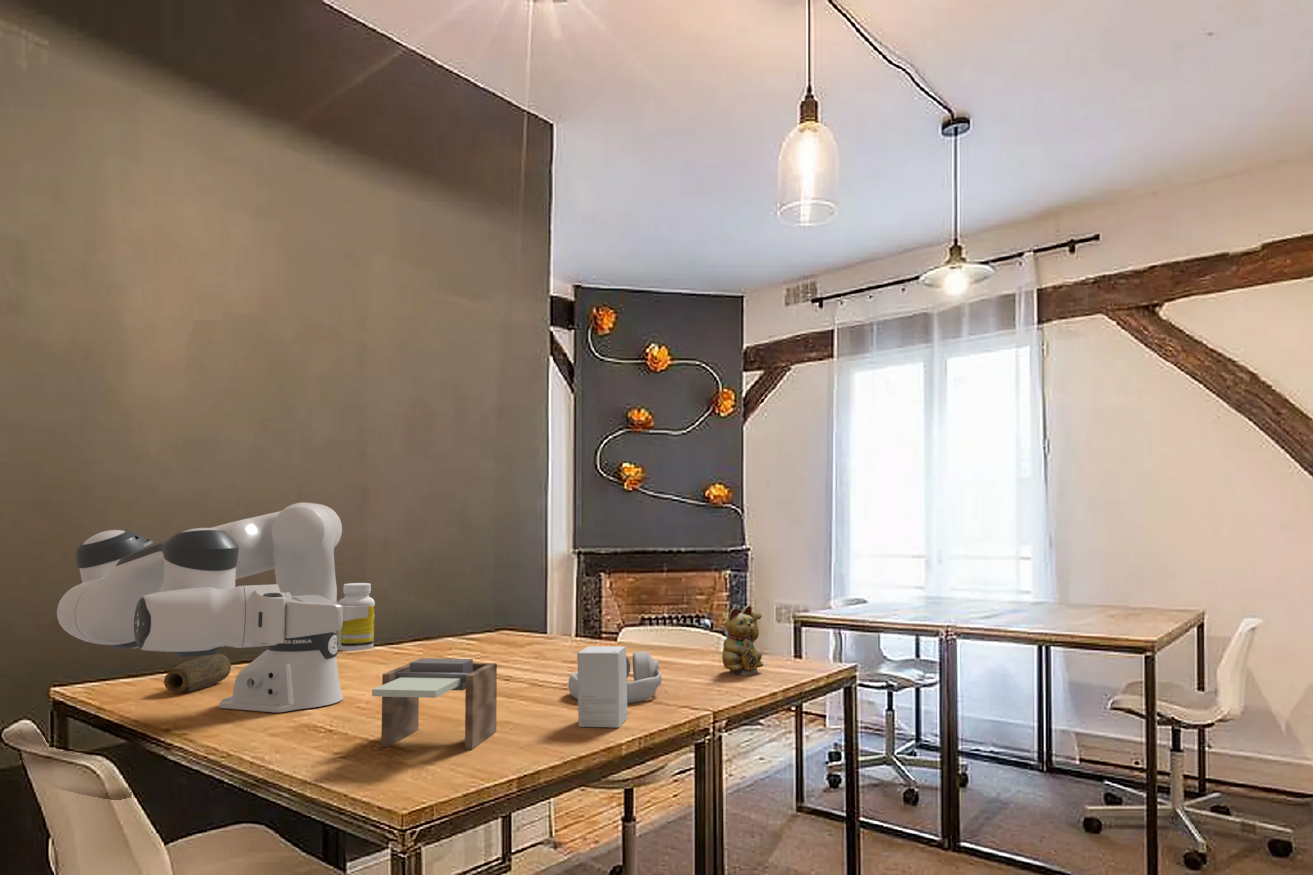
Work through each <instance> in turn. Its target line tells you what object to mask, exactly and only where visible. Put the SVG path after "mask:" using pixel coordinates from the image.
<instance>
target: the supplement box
mask: <svg viewBox="0 0 1313 875" xmlns="http://www.w3.org/2000/svg"><path fill="white" fill-rule="evenodd" d="M626 655H627V646H597V645H595V646H592V645H591V646H589V645H588V646H586V647H584V648H583V649H581V650H580V651H578V652H577V653H576V658H577V671H578V699H577V709H578V710H577V711H578V727H579V728H584V727H585V728H615V729H617V728H620V727H621V726H622V725H623V724H624V723H625V721H627V719H628V704H627V681H628V678H627V672H626Z"/></svg>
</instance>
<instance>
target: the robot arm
mask: <svg viewBox="0 0 1313 875" xmlns="http://www.w3.org/2000/svg"><path fill="white" fill-rule="evenodd" d="M342 535H343V525H342V521H341V519H340V516H339V515H338V513H336V512H335V510H334V509H332V508H331V507H329V506H327V505H325V504H321V503H315V502H304V501H303V502H297V503H293V504H290V505H288V506H286V507H285V508H284V509H282V510H280V511H276V512H271V513H266V514H262V515H257V516H253V517H248V518H245V519H244V518H243V519H240V520H235V521H231V522H227V523H224V524H220V525H217V526H211V527H198V528H197V527H196V528H190V529H186V530H184V531H181V532H177V533H175V534H174V535H172V536H170V537H169V538H168V539H166V540H163V541H161V542H159V543H155V544H154V541H153V540H152V538H145V537H143V536H142V535H140V534H139V533H137V532H135V531H132V530H129V529H122V530H120V529H110V530H104V531H100V532H98V533H96V534H94V535H92V536H90V537H89V538H87V539H86V540H85V541H83V542H81V543H80V544H79V545H78V547H77V548H76V549H75V563H76V568H77V569H79V573H80V578H81V583H79V584H77V585H74V586H73V587H71V588H70V589H68V590H67V591H66V592H65V593H64V594H63V596H62V597H61V599H60V600H59V602H58V605H57V610H56V616H57V621H58V623H59V625H60V627H61V628H62V629H63V630H64V631H65V632H66V633H68V634H69V635H71V636H73V637H74V638H76V639H78V640H81V641H83V642H87V643H90V644H91V643H92V644H94V645H95V644H96V645H104V646H110V647H112V648H115V649H118V650H122V651H125V650H130V649H132V650H133V649H138V648H139V649H140V650H142V651H146V652H147V651H149V652H166V653H167V652H168V653H174V654H175V655H176V656H177V657H179V658H190V657H202V656H206V655H215V654H218V652H219V651H220V650H221V649H223V647H230V648H236V649H243V648H257V647H258V648H259V647H266V650H265V651H264V652H262V653H261V654H260V655H259V656H257V657H256V658H255V659H253V660H252V661H251V662H250V663H248V664H247V665H246V666H245V667H243V668H242V669H241V670H240V671H238V673H237V675H236V678H235V681H234V684H233V685H234V686H233V689H232V695H230V696H227V697H226V698H223V699H221V701H220V702H219V707H218V708H220V709H232V710H241V711H251V712H253V711H255V712H265V713H284V712H289V711H290V712H291V711H297V710H302V709H303V710H305V709H311V708H317V707H319V708H320V707H323V706H329V705H333V704H336V703H338V702H341V701H342V700H344V694H343V691H342V688H341V683H340V677H339V669H338V668H339V667H338V660H337V655H338V652H339V649H337V630H340V629H341V628H342V622H343V621H348V620H353V619H359V618H366V617H367V616H368V607H367V606H365V605H360V606H342V605H340V604H338V602H339V600H338V599H337V597H338V596H337V595H338V590H337V589H338V585H337V580H336V579H337V578H336V566H335V551H334V550H335V548H336V547H337V545H338V544H339V542H340V540H341V538H342ZM152 544H153V545H152ZM271 570H274V576H275V584H274V583H273V584H256V585H255V584H252V585H249V584H248V585H238V586H236V580H238V579H243V578H246V577H249V576H253V575H257V574H261V573H263V572H267V571H271Z"/></svg>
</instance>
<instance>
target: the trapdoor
mask: <svg viewBox="0 0 1313 875" xmlns="http://www.w3.org/2000/svg"><path fill="white" fill-rule="evenodd" d="M409 663H410V672H397V673H396V680H393V681H391V682H389V683H386V684H384V685H380V686H377V687H374V688H372V690H371V697H381V698H382V697H419V698H429V699H430V698H431V699H432V698H433V699H434V698H435V699H436V698H438V697H441V696H443V694H446V693H448V692H450V691H465V687H466V675H468V674H470V673H472V672H473V663H474V659H473V658H423V657H422V658H419V659H417V660H414V661H411V662H409Z"/></svg>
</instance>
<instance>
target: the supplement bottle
mask: <svg viewBox="0 0 1313 875" xmlns="http://www.w3.org/2000/svg"><path fill="white" fill-rule="evenodd" d="M371 586H372V584H371V583H368V582H351V583H344V584H343V589H342V590H343V594H344V597H343V598H340V599H339V600H338V604H340V605H342V606H360V605H365V606H367V607H368V616H367V617H366V618H359V619H353V620H348V621H343V622H342V628H341V629H340V630H337V649H338V651H348V652H349V651H350V652H353V651H356V652H357V651H363V650H364V651H365V650H369V649H372V648H374V643H375V642H374V641H375V615H376V614H375V613H376V612H375V610H376V602H375V600H374V598H372V597H371V596H370V594H371V591H372V587H371Z"/></svg>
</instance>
